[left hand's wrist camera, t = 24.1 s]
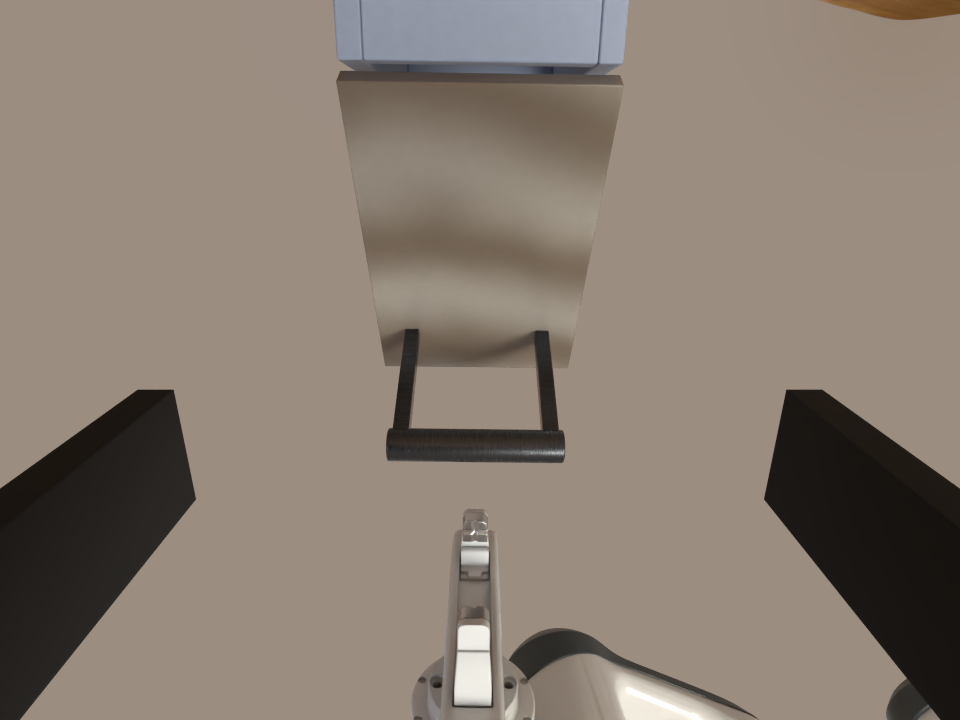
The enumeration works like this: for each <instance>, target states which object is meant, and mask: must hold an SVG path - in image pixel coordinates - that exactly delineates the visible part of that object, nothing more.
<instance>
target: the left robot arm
mask: <svg viewBox="0 0 960 720" xmlns="http://www.w3.org/2000/svg"><path fill="white" fill-rule="evenodd" d="M195 500H196V497H195V492H194V487H193V483H192V478H191V473H190V468H189V463H188V458H187V453H186V448H185V444H184V438H183V434H182V429H181V424H180V419H179V414H178V409H177V404H176V399H175V394H174V390H137V391H135V392H134V393H133V394H131V395H130V396H128V397H127V398H126V399H124V400H123V401H121V402H120V403H119V404H117V405H116V406H114V407H113V408H112V409H110V410H109V411H108V412H106V413H105V414H103V415H102V416H101V417H99V418H98V419H96V420H95V421H94V422H92V423H91V424H89V425H88V426H87V427H85V428H84V429H82V430H81V431H80V432H78V433H77V434H76V435H74V436H73V437H71V438H70V439H69V440H67V441H66V442H64V443H63V444H62V445H60V446H59V447H58V448H56V449H55V450H53V451H52V452H51V453H49V454H48V455H46V456H45V457H44V458H42V459H41V460H39V461H38V462H37V463H35V464H34V465H32V466H31V467H30V468H28V469H27V470H25V471H24V472H23V473H21V474H20V475H19V476H17V477H16V478H14V479H13V480H12V481H10V482H9V483H7V484H6V485H5V486H3V487H2V488H0V720H20V719H21V718H22V716H23V715H24V714H25V713H26V711H27V710H28V709H29V708H30V706H31V705H32V704H33V702H34V701H35V700H36V699H37V698H38V696H39V695H40V694H41V693H42V691H43V690H44V689H45V688H46V686H47V685H48V684H49V683H50V681H51V680H52V679H53V677H54V676H55V675H56V674H57V672H58V671H59V670H60V669H61V667H62V666H63V665H64V664H65V663H66V661H67V660H68V659H69V658H70V656H71V655H72V654H73V652H74V651H75V650H76V649H77V648H78V646H79V645H80V644H81V643H82V641H83V640H84V639H85V637H86V636H87V635H88V634H89V632H90V631H91V630H92V629H93V627H94V626H95V625H96V624H97V622H98V621H99V620H100V619H101V617H102V616H103V615H104V614H105V612H106V611H107V610H108V609H109V607H110V606H111V605H112V604H113V602H114V601H115V600H116V599H117V597H118V596H119V595H120V594H121V592H122V591H123V590H124V589H125V587H126V586H127V585H128V584H129V582H130V581H131V580H132V579H133V577H134V576H135V575H136V574H137V572H138V571H139V570H140V569H141V567H142V566H143V565H144V564H145V562H146V561H147V560H148V559H149V557H150V556H151V555H152V554H153V552H154V551H155V550H156V549H157V547H158V546H159V545H160V544H161V542H162V541H163V540H164V539H165V537H166V536H167V535H168V534H169V532H170V531H171V530H172V529H173V527H174V526H175V525H176V524H177V522H178V521H179V520H180V519H181V517H182V516H183V515H184V514H185V512H186V511H187V510H188V509H189V507H190V506H191V505H192V504H193V502H194V501H195ZM764 500H765V501H766V502H767V504H768V505H769V506H770V507H771V509H772V510H773V511H774V512H775V514H776V515H777V516H778V517H779V519H780V520H781V521H782V522H783V524H784V525H785V526H786V527H787V529H788V530H789V531H790V532H791V534H792V535H793V536H794V537H795V539H796V540H797V541H798V542H799V544H800V545H801V546H802V547H803V548H804V550H805V551H806V552H807V554H808V555H809V556H810V557H811V559H812V560H813V561H814V562H815V564H816V565H817V566H818V567H819V569H820V570H821V571H822V572H823V574H824V575H825V576H826V577H827V579H828V580H829V581H830V582H831V584H832V585H833V586H834V587H835V589H836V590H837V591H838V592H839V594H840V595H841V596H842V597H843V599H844V600H845V601H846V602H847V604H848V605H849V606H850V607H851V609H852V610H853V611H854V612H855V614H856V615H857V616H858V617H859V619H860V620H861V621H862V622H863V624H864V625H865V626H866V627H867V629H868V630H869V631H870V632H871V634H872V635H873V636H874V638H875V639H876V640H877V641H878V643H879V644H880V645H881V646H882V648H883V649H884V650H885V651H886V652H887V654H888V655H889V656H890V657H891V659H892V660H893V661H894V663H895V664H896V665H897V666H898V668H899V669H900V670H901V671H902V673H903V674H904V675H905V676H906V677H907V679H908V680H909V681H910V683H911V684H912V685H913V686H914V688H915V689H916V690H917V691H918V693H919V694H920V695H921V696H922V698H923V699H924V700H925V701H926V703H927V704H928V705H929V706H930V708H931V709H932V710H933V711H934V713H935V714H936V715H937V716H938V718H939V719H940V720H960V488H958V487H957V486H955V485H954V484H953V483H951V482H950V481H948V480H947V479H946V478H944V477H943V476H941V475H940V474H939V473H937V472H936V471H935V470H933V469H932V468H930V467H929V466H927V465H926V464H925V463H923V462H922V461H921V460H919V459H918V458H916V457H915V456H914V455H912V454H911V453H909V452H908V451H907V450H905V449H904V448H902V447H901V446H900V445H898V444H897V443H896V442H894V441H893V440H891V439H890V438H889V437H887V436H886V435H884V434H883V433H882V432H880V431H879V430H878V429H876V428H875V427H873V426H872V425H871V424H869V423H868V422H866V421H865V420H864V419H862V418H861V417H859V416H858V415H857V414H855V413H854V412H852V411H851V410H850V409H848V408H847V407H845V406H844V405H843V404H841V403H840V402H839V401H837V400H836V399H834V398H833V397H832V396H830V395H829V394H827V393H826V392H825V391H823V390H786V394H785V399H784V404H783V409H782V414H781V419H780V424H779V429H778V434H777V439H776V443H775V448H774V453H773V458H772V463H771V468H770V473H769V478H768V483H767V487H766V492H765V497H764Z"/></svg>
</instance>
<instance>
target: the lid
mask: <svg viewBox="0 0 960 720" xmlns="http://www.w3.org/2000/svg"><path fill="white" fill-rule="evenodd" d="M336 83H337V89H338V94H339V100H340V106H341V112H342V118H343V123H344V129H345V135H346V141H347V147H348V152H349V158H350V164H351V170H352V175H353V181H354V187H355V193H356V199H357V205H358V210H359V216H360V222H361V228H362V234H363V239H364V245H365V251H366V257H367V263H368V269H369V274H370V280H371V286H372V292H373V297H374V303H375V309H376V315H377V321H378V327H379V332H380V338H381V344H382V350H383V355H384V361H385V366H401V367H400V375H399V383H398V391H397V399H396V407H395V415H394V423H393V428H390V429H389V430H388V433H387V439H386V455H387V460H388V461H422V462H511V463H563V461H564V457H565V437H564V433H563V431H562V430H559V427H558V417H557V407H556V397H555V388H554V378H553V368H568V364H569V359H570V354H571V349H572V344H573V339H574V334H575V329H576V324H577V319H578V314H579V309H580V304H581V299H582V294H583V289H584V284H585V279H586V274H587V269H588V264H589V259H590V254H591V249H592V244H593V239H594V234H595V229H596V224H597V219H598V214H599V209H600V204H601V199H602V194H603V189H604V184H605V178H606V174H607V169H608V164H609V159H610V153H611V148H612V143H613V138H614V133H615V128H616V123H617V118H618V113H619V108H620V103H621V98H622V93H623V88H624V85H623V82H622V79H621V76H620V75H573V74H509V73H445V72H381V71H340V73H339V76H338V78H337V81H336ZM417 366H429V367H510V368H536V372H537V385H538V398H539V411H540V424H541V430H500V429H413V428H411V421H412V412H413V402H414V392H415V382H416V372H417Z"/></svg>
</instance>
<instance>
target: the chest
mask: <svg viewBox="0 0 960 720" xmlns="http://www.w3.org/2000/svg"><path fill="white" fill-rule="evenodd" d="M333 1H334V17H335V32H336V48H337V59H338V60H339V61H341V62H342V63H344V64H346V65H347V66H349V67H350V68H352V69H353V70H355V71H381V72H445V73H509V74H573V75H605V74H606V73H608V72H610V71H612V70H613V69H615V68H617V67H618V66H620V65H622V64H623V62H624V51H625V40H626V29H627V17H628V7H629V0H333Z"/></svg>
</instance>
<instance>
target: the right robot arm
mask: <svg viewBox="0 0 960 720" xmlns="http://www.w3.org/2000/svg"><path fill="white" fill-rule="evenodd" d="M886 717H887V720H940V719H939V718H938V716H937V715H936V714H935V713H934V711H933V710H932V709H931V708H930V706H929V705H928V704H927V703H926V701H925V700H924V699H923V698H922V696H921V695H920V694H919V693H918V691H917V690H916V689H915V688H914V686H913V685H912V684H911V683H910V681H909V680H908V679H906V680H905V681H903V682H902V683H901V684H900V685H899V686H898V687H897V688H896V689H895V691H894V692H893V694H892V696H891V698H890V701H889V704H888V707H887V711H886ZM411 720H759V719H757V718H756V717H755V716H753V715H752V714H750V713H749V712H747V711H745V710H744V709H742V708H741V707H739V706H737V705H735V704H734V703H732V702H730V701H728V700H726V699H723V698H721V697H719V696H716V695H714V694H712V693H709V692H707V691H704V690H702V689H700V688H697V687H695V686H692V685H689V684H687V683H684V682H682V681H679V680H677V679H674V678H672V677H669V676H667V675H664V674H661V673H659V672H656V671H654V670H651V669H649V668H646V667H643V666H641V665H638V664H636V663H633V662H631V661H629V660H626V659H624V658H622V657H620V656H618V655H616V654H615V653H613V652H612V651H610V650H609V649H608V648H606V647H605V646H604V645H603V644H601V643H600V642H599V641H597V640H596V639H594V638H593V637H591V636H589V635H587V634H584V633H582V632H579V631H575V630H571V629H564V628H553V629H547V630H543V631H540V632H538V633H536V634H534V635H532V636H531V637H529V638H528V639H527V640H525V641H524V642H523V643H522V644H521V645H520V646H519V647H518V648H517V649H516V650H515V652H514V653H513V654H512V656H511V657H510V659H509V660H507V659H506V658H505V657H503V656H502V634H501V610H500V587H499V563H498V542H497V536H496V533H495V532H494V531H492V530H488V514H487V512H486V511H485V510H483V509H467V510H465V511H464V513H463V530H458V531H456V532H455V534H454V537H453V544H452V558H451V573H450V586H449V600H448V614H447V628H446V642H445V655H444V656H443V657H442V658H440V659H438V660H437V661H435V662H434V663H433V664H432V665H430V666H429V667H428V668H427V669H426V670H425V671H424V672H423V674H422V675H421V676H420V678H419V679H418V681H417V683H416V685H415V688H414V690H413V694H412V699H411Z"/></svg>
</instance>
